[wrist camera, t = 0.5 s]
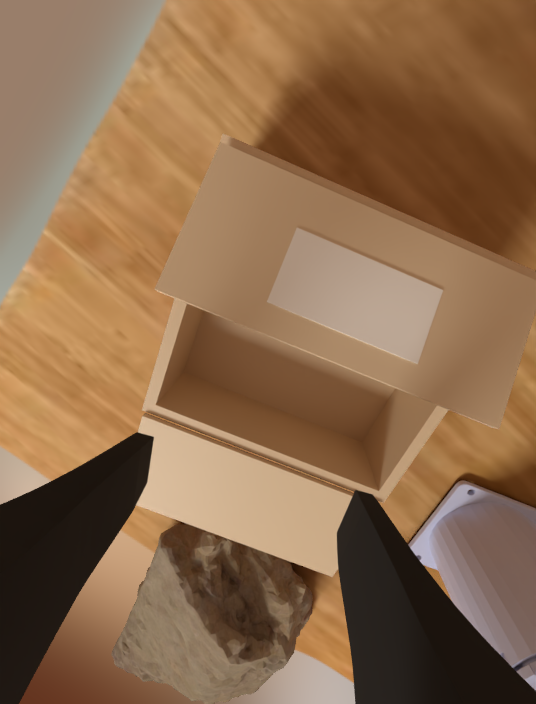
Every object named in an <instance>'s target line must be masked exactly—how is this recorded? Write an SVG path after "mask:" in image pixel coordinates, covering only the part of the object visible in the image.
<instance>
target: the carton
mask: <svg viewBox="0 0 536 704" xmlns="http://www.w3.org/2000/svg"><path fill="white" fill-rule="evenodd" d="M220 142H222V143H224V144H226V145H228V146H231V147H233V148H235V149H238V150H240V151H242V152H244V153H247V154H249V155H251V156H254V157H256V158H258V159H260V160H263V161H265V162H267V163H270V164H272V165H274V166H276V167H279V168H281V169H283V170H285V171H288V172H290V173H292V174H295V175H297V176H299V177H301V178H304V179H306V180H308V181H311V182H313V183H315V184H317V185H320V186H322V187H324V188H327V189H329V190H331V191H333V192H336V193H338V194H340V195H342V196H345V197H347V198H349V199H352V200H354V201H356V202H358V203H361V204H363V205H365V206H368V207H370V208H372V209H374V210H377V211H379V212H381V213H384V214H386V215H388V216H390V217H393V218H395V219H397V220H400V221H402V222H404V223H406V224H409V225H411V226H413V227H415V228H418V229H420V230H422V231H425V232H427V233H429V234H431V235H434V236H436V237H438V238H441V239H443V240H445V241H447V242H450V243H452V244H454V245H457V246H459V247H461V248H463V249H466V250H468V251H470V252H472V253H475V254H477V255H479V256H482V257H484V258H486V259H488V260H491V261H493V262H495V263H498V264H500V265H502V266H504V267H507V268H509V269H511V270H514V271H516V272H518V273H520V274H523V275H525V276H527V277H529V278H532V279H534V280H536V271H534V270H532V269H530V268H527V267H525V266H523V265H521V264H518V263H516V262H514V261H512V260H509V259H507V258H505V257H503V256H500V255H498V254H496V253H493V252H491V251H489V250H487V249H484V248H482V247H480V246H478V245H475V244H473V243H471V242H468V241H466V240H464V239H462V238H459V237H457V236H455V235H453V234H450V233H448V232H446V231H443V230H441V229H439V228H437V227H434V226H432V225H430V224H428V223H425V222H423V221H421V220H418V219H416V218H414V217H412V216H409V215H407V214H405V213H403V212H400V211H398V210H396V209H393V208H391V207H389V206H387V205H384V204H382V203H380V202H378V201H375V200H373V199H371V198H368V197H366V196H364V195H362V194H359V193H357V192H355V191H353V190H350V189H348V188H346V187H343V186H341V185H339V184H337V183H334V182H332V181H330V180H328V179H325V178H323V177H321V176H319V175H316V174H314V173H312V172H309V171H307V170H305V169H303V168H300V167H298V166H296V165H294V164H291V163H289V162H287V161H284V160H282V159H280V158H278V157H275V156H273V155H271V154H269V153H266V152H264V151H262V150H259V149H257V148H255V147H253V146H250V145H248V144H246V143H244V142H241V141H239V140H237V139H234V138H232V137H230V136H228V135H225V134H222V138H221V141H220ZM142 410H143V411H146V412H148V413H151V414H154V415H156V416H159V417H161V418H164V419H167V420H169V421H172V422H174V423H177V424H180V425H182V426H185V427H187V428H190V429H193V430H195V431H198V432H200V433H203V434H206V435H208V436H211V437H213V438H216V439H219V440H221V441H224V442H226V443H229V444H232V445H234V446H237V447H239V448H242V449H245V450H247V451H250V452H252V453H255V454H258V455H260V456H263V457H265V458H268V459H271V460H273V461H276V462H278V463H281V464H284V465H286V466H289V467H291V468H294V469H297V470H299V471H302V472H304V473H307V474H310V475H312V476H315V477H317V478H320V479H323V480H325V481H328V482H330V483H333V484H336V485H338V486H341V487H343V488H346V489H349V490H351V491H354V492H355V490H358V491H362V492H366V493H369V494H373V496H374V497H375V498H376V500H377V501H380V502H382V503H384V502H385V500H386V499H387V497H388V496H389V494H390V493H391V492H392V490H393V489H394V487H395V486H396V484H397V483H398V482H399V480H400V479H401V477H402V476H403V474H404V473H405V472H406V470H407V469H408V467H409V466H410V464H411V463H412V461H413V460H414V459H415V457H416V456H417V454H418V453H419V451H420V450H421V449H422V447H423V446H424V444H425V443H426V441H427V440H428V438H429V437H430V436H431V434H432V433H433V431H434V430H435V428H436V427H437V426H438V424H439V423H440V421H441V420H442V418H443V417H444V415H445V414H446V413H447V411H448V409H445V408H443V407H440V406H438V405H435V404H433V403H430V402H428V401H426V400H423V399H421V398H418V397H416V396H413V395H411V394H408V393H406V392H403V391H401V390H398V389H396V388H394V387H391V386H389V385H386V384H384V383H381V382H379V381H376V380H374V379H371V378H369V377H367V376H364V375H362V374H359V373H357V372H354V371H352V370H349V369H347V368H344V367H342V366H339V365H337V364H335V363H332V362H330V361H327V360H325V359H322V358H320V357H317V356H315V355H312V354H310V353H308V352H305V351H303V350H300V349H298V348H295V347H293V346H290V345H288V344H285V343H283V342H280V341H278V340H276V339H273V338H271V337H268V336H266V335H263V334H261V333H258V332H256V331H253V330H251V329H249V328H246V327H244V326H241V325H239V324H236V323H234V322H231V321H229V320H226V319H224V318H221V317H219V316H217V315H214V314H212V313H209V312H207V311H204V310H202V309H199V308H197V307H194V306H192V305H190V304H187V303H185V302H182V301H180V300H177V299H174V302H173V306H172V309H171V313H170V316H169V319H168V323H167V326H166V330H165V333H164V337H163V340H162V343H161V347H160V350H159V354H158V357H157V361H156V364H155V367H154V371H153V374H152V378H151V381H150V385H149V388H148V391H147V395H146V398H145V402H144V405H143V409H142ZM138 433H142V434H145V435H149V436H153V437H154V441H153V448H152V454H151V461H150V468H149V475H148V482H147V484H146V486H145V488H144V490H143V492H142V494H141V496H140V498H139V500H138V502H137V504H136V505H137V506H140V507H143V508H145V509H148V510H151V511H154V512H156V513H159V514H162V515H165V516H167V517H170V518H173V519H175V520H178V521H181V522H184V523H186V524H189V525H192V526H194V527H197V528H200V529H203V530H205V531H208V532H211V533H214V534H216V535H219V536H222V537H224V538H227V539H230V540H233V541H235V542H238V543H241V544H244V545H246V546H249V547H252V548H254V549H257V550H260V551H263V552H265V553H268V554H271V555H273V556H276V557H279V558H282V559H284V560H287V561H290V562H293V563H295V564H298V565H301V566H303V567H306V568H309V569H312V570H314V571H317V572H320V573H323V574H325V575H328V576H331V577H333V575H334V574H335V572H336V571H337V570H338V557H337V531H338V528H339V526H340V524H341V522H342V519H343V517H344V515H345V512H346V510H347V508H348V506H349V503H350V501H351V499H352V497H353V494H354V493H352V492H350V491H347V490H344V489H342V488H339V487H337V486H334V485H331V484H329V483H326V482H324V481H321V480H318V479H316V478H313V477H310V476H308V475H305V474H303V473H300V472H297V471H295V470H292V469H290V468H287V467H284V466H282V465H279V464H277V463H274V462H271V461H269V460H266V459H264V458H261V457H258V456H256V455H253V454H251V453H248V452H245V451H243V450H240V449H238V448H235V447H232V446H230V445H227V444H225V443H222V442H219V441H217V440H214V439H212V438H209V437H206V436H204V435H201V434H199V433H196V432H193V431H191V430H188V429H186V428H183V427H180V426H178V425H175V424H173V423H170V422H167V421H165V420H162V419H160V418H157V417H154V416H152V415H149V414H147V413H145V414H144V415H143V416H142V420H141V423H140V426H139V430H138ZM379 504H380V503H379Z"/></svg>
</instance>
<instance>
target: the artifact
mask: <svg viewBox="0 0 536 704" xmlns="http://www.w3.org/2000/svg"><path fill="white" fill-rule="evenodd" d="M311 605H312V592H311V591H310V589H309V588H308V587H307V586H306V585H305V584H304V583H303V580H302V578H301V577H300V576H298V575H297V574H296V573H295V572H294V571H293V570H292V566H291V564H290V563H289V562H288V561H287V560H284V559H282V558H279V557H276V556H273V555H271V554H268V553H265V552H263V551H260V550H257V549H254V548H252V547H249V546H246V545H244V544H241V543H238V542H235V541H233V540H230V539H227V538H224V537H222V536H219V535H216V534H214V533H211V532H208V531H205V530H203V529H200V528H197V527H194V526H192V525H186V524H176V525H174V526H173V527H172V528H170V529H168V530H166V531H165V532H163V533H162V534H161V535H160V538H159V544H158V547H157V549H156V552H155V555H154V558H153V560H152V563H151V566H150V567H149V568H148V570H147V575H146V578H145V580H144V581H143V582H142V583H141V584H140V585H139V589H138V597H137V600H136V602H135V604H134V606H133V609H132V611H131V612H130V615H129V618H128V621H127V623H126V625H125V627H124V629H123V632H122V633H121V636H120V637H119V639H118V641H117V642H116V645H115V646H114V649H113V651H112V656H113V658H114V663H115V665H116V666H117V667H119V668H122V669H124V670H125V671H126V672H128V673H133V674H135V676H139V677H140V678H141V680H142V681H153V680H154V681H155V682H157V683H167V684H168V685H172V686H173V688H174V689H175V690H178V691H180V693H182V694H183V695H185V696H186V697H188V698H189V699H190V700H191V701H196V700H201V701H203V702H204V703H205V704H215V702H219V701H223V702H227V701H230V700H231V699H232V698H234V697H239V696H240V695H244V694H252V693H254V692H256V691H257V690H258V689H259V687H260V686H261V685H262V684H263V683H265V682H266V681H267V680H268V679H269V678H270V676H271V675H273V673H275V672H276V671H278V670H280V669H282V668H283V667H284V666H285V665H286V664H287V662H288V661H289V659H290V657H291V656H292V654H293V653H294V649H295V644H296V637H298V636H299V635H300V630H301V629H303V627H304V625H305V624H306V622H307V621H308V620H309V617H310V615H311V614H312V606H311Z"/></svg>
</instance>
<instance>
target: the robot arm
mask: <svg viewBox="0 0 536 704" xmlns="http://www.w3.org/2000/svg"><path fill="white" fill-rule="evenodd" d="M153 441H154V437H153V436H149V435H145V434H142V433H138V432H137V433H135V434H133V435H131V436H130V437H128V438H126V439H125V440H123V441H121V442H120V443H118V444H117V445H115V446H113V447H112V448H110V449H108V450H107V451H105V452H103V453H102V454H100V455H98V456H97V457H95V458H93V459H91V460H90V461H88V462H86V463H84V464H83V465H81V466H79V467H77V468H76V469H74V470H72V471H70V472H68V473H66V474H64V475H62V476H60V477H59V478H57V479H55V480H53V481H51V482H49V483H47V484H45V485H43V486H41V487H39V488H37V489H35V490H33V491H31V492H29V493H26V494H24V495H22V496H20V497H17V498H15V499H13V500H10V501H8V502H6V503H3V504H1V505H0V704H19V702H20V701H21V699H22V697H23V695H24V693H25V691H26V689H27V687H28V685H29V683H30V681H31V679H32V678H33V676H34V674H35V672H36V670H37V668H38V666H39V665H40V663H41V661H42V659H43V657H44V655H45V653H46V652H47V650H48V648H49V646H50V644H51V642H52V641H53V639H54V637H55V635H56V633H57V631H58V630H59V627H60V626H61V624H62V622H63V621H64V619H65V617H66V615H67V613H68V612H69V610H70V608H71V606H72V604H73V603H74V601H75V599H76V597H77V596H78V594H79V592H80V591H81V589H82V587H83V586H84V584H85V583H86V581H87V579H88V578H89V576H90V575H91V573H92V572H93V570H94V569H95V567H96V566H97V564H98V563H99V561H100V560H101V558H102V557H103V555H104V554H105V552H106V551H107V549H108V548H109V546H110V545H111V543H112V542H113V540H114V539H115V537H116V536H117V534H118V533H119V531H120V530H121V528H122V527H123V525H124V524H125V522H126V521H127V519H128V518H129V516H130V514H131V513H132V511H133V510H134V508H135V506H136V504H137V502H138V500H139V498H140V496H141V494H142V492H143V490H144V488H145V486H146V484H147V482H148V475H149V468H150V461H151V454H152V448H153ZM471 489H472V490H471ZM469 490H470V491H469ZM337 557H338V569H339V576H340V583H341V589H342V596H343V602H344V609H345V615H346V622H347V628H348V635H349V641H350V648H351V656H352V664H353V676H354V689H355V702H356V704H536V508H534V507H531V506H529V505H526V504H523V503H521V502H518V501H516V500H513V499H511V498H508V497H506V496H503V495H501V494H498V493H496V492H493V491H491V490H488V489H485V488H483V487H480V486H478V485H475V484H473V483H470V482H468V481H464V480H463V481H459V482H457V483H456V484H455V486H454V487H453V488H452V490H451V491H450V492H449V493H448V495H447V496H446V497H445V498H444V500H443V501H442V502H441V504H440V505H439V506H438V507H437V509H436V510H435V511H434V513H433V514H432V515H431V516H430V518H429V519H428V520H427V521H426V523H425V524H424V525H423V527H422V528H421V529H420V530H419V532H418V533H417V534H416V536H415V537H414V538H413V539H412V541H411V542H410V543H409V544H407V543H406V541H405V540H404V538H403V537H402V536H401V534H400V533H399V531H398V530H397V529H396V527H395V526H394V524H393V523H392V521H391V520H390V518H389V517H388V515H387V514H386V513H385V511H384V510H383V508H382V507H381V505H380V504H379V503H378V501H377V500H376V498H375V497H374V496H373V494H369V493H366V492H362V491H358V490H355V492H354V494H353V497H352V499H351V501H350V503H349V506H348V508H347V510H346V512H345V515H344V517H343V519H342V522H341V524H340V526H339V528H338V531H337ZM422 564H423V565H425V566H428V567H431V568H433V569H436V570H438V571H439V573H440V575H441V577H442V580H443V582H444V584H445V586H446V589H447V591H448V593H449V595H450V598H451V600H452V601H451V600H450V599H449V597H448V596H447V595H446V594H445V593H444V591H443V590H442V589H441V588H440V586H439V585H438V584H437V583H436V581H435V580H434V579H433V577H432V576H431V575H430V574H429V572H428V571H427V570H426V569H425V567H424V566H423V565H422Z"/></svg>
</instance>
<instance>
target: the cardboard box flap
mask: <svg viewBox="0 0 536 704" xmlns="http://www.w3.org/2000/svg"><path fill="white" fill-rule="evenodd" d="M155 290H156V291H158V292H160V293H162V294H165V295H167V296H170V297H172V298H175V299H177V300H180V301H182V302H185V303H187V304H190V305H192V306H194V307H197V308H199V309H202V310H204V311H207V312H209V313H212V314H214V315H217V316H219V317H221V318H224V319H226V320H229V321H231V322H234V323H236V324H239V325H241V326H244V327H246V328H249V329H251V330H253V331H256V332H258V333H261V334H263V335H266V336H268V337H271V338H273V339H276V340H278V341H280V342H283V343H285V344H288V345H290V346H293V347H295V348H298V349H300V350H303V351H305V352H308V353H310V354H312V355H315V356H317V357H320V358H322V359H325V360H327V361H330V362H332V363H335V364H337V365H339V366H342V367H344V368H347V369H349V370H352V371H354V372H357V373H359V374H362V375H364V376H367V377H369V378H371V379H374V380H376V381H379V382H381V383H384V384H386V385H389V386H391V387H394V388H396V389H398V390H401V391H403V392H406V393H408V394H411V395H413V396H416V397H418V398H421V399H423V400H426V401H428V402H430V403H433V404H435V405H438V406H440V407H443V408H445V409H448V410H450V411H453V412H455V413H457V414H460V415H462V416H465V417H467V418H470V419H472V420H475V421H477V422H480V423H482V424H485V425H487V426H489V427H492V428H496V429H499V428H500V425H501V422H502V418H503V415H504V412H505V409H506V405H507V402H508V399H509V396H510V393H511V389H512V386H513V383H514V380H515V376H516V373H517V370H518V367H519V364H520V360H521V357H522V354H523V351H524V347H525V344H526V341H527V338H528V335H529V331H530V328H531V325H532V322H533V319H534V315H535V312H536V280H534V279H532V278H529V277H527V276H525V275H523V274H520V273H518V272H516V271H514V270H511V269H509V268H507V267H504V266H502V265H500V264H498V263H495V262H493V261H491V260H488V259H486V258H484V257H482V256H479V255H477V254H475V253H472V252H470V251H468V250H466V249H463V248H461V247H459V246H457V245H454V244H452V243H450V242H447V241H445V240H443V239H441V238H438V237H436V236H434V235H431V234H429V233H427V232H425V231H422V230H420V229H418V228H415V227H413V226H411V225H409V224H406V223H404V222H402V221H400V220H397V219H395V218H393V217H390V216H388V215H386V214H384V213H381V212H379V211H377V210H374V209H372V208H370V207H368V206H365V205H363V204H361V203H358V202H356V201H354V200H352V199H349V198H347V197H345V196H342V195H340V194H338V193H336V192H333V191H331V190H329V189H327V188H324V187H322V186H320V185H317V184H315V183H313V182H311V181H308V180H306V179H304V178H301V177H299V176H297V175H295V174H292V173H290V172H288V171H285V170H283V169H281V168H279V167H276V166H274V165H272V164H270V163H267V162H265V161H263V160H260V159H258V158H256V157H254V156H251V155H249V154H247V153H244V152H242V151H240V150H238V149H235V148H233V147H231V146H228V145H226V144H224V143H222V142H220V144H219V146H218V148H217V150H216V153H215V155H214V157H213V159H212V162H211V164H210V166H209V168H208V171H207V173H206V175H205V177H204V180H203V182H202V184H201V186H200V189H199V191H198V193H197V195H196V197H195V200H194V202H193V204H192V206H191V209H190V211H189V213H188V215H187V218H186V220H185V222H184V224H183V227H182V229H181V231H180V233H179V236H178V238H177V240H176V242H175V245H174V247H173V249H172V251H171V253H170V256H169V258H168V260H167V262H166V265H165V267H164V269H163V271H162V274H161V276H160V278H159V280H158V283H157V285H156V287H155Z"/></svg>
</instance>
